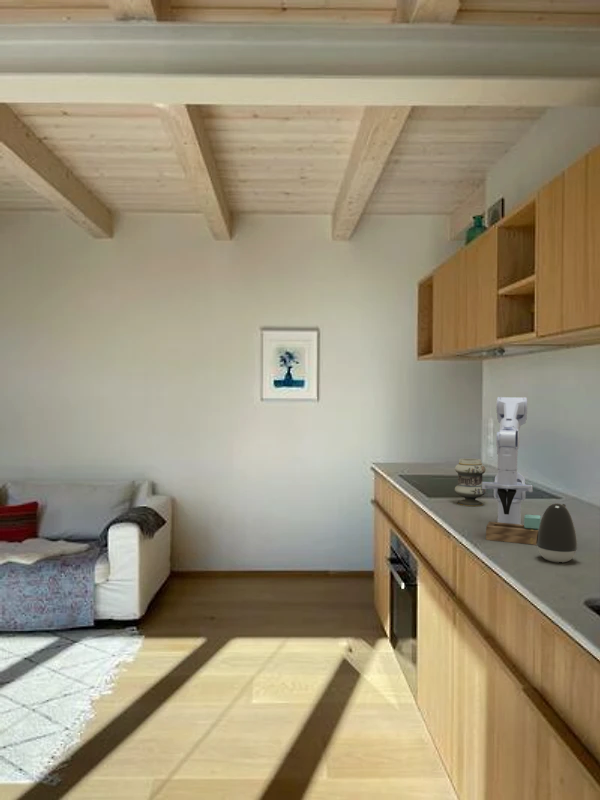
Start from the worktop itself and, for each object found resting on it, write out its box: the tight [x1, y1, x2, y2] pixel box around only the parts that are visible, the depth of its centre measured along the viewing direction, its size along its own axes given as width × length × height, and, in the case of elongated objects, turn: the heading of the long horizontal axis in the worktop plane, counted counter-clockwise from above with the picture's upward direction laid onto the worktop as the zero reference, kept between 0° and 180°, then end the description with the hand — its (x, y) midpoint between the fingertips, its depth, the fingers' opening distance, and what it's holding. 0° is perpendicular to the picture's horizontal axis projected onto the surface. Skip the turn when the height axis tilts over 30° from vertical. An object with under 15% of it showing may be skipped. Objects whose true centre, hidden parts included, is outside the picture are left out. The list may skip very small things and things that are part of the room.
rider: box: [523, 513, 542, 530], centre depth 186 cm, size 4×5×5 cm
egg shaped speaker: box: [535, 503, 579, 563], centre depth 166 cm, size 10×10×15 cm
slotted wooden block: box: [485, 521, 538, 546], centre depth 186 cm, size 24×8×6 cm, turn 67°
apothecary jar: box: [454, 458, 487, 507], centre depth 247 cm, size 12×12×18 cm
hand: (506, 513), depth 189 cm, fingers closed
